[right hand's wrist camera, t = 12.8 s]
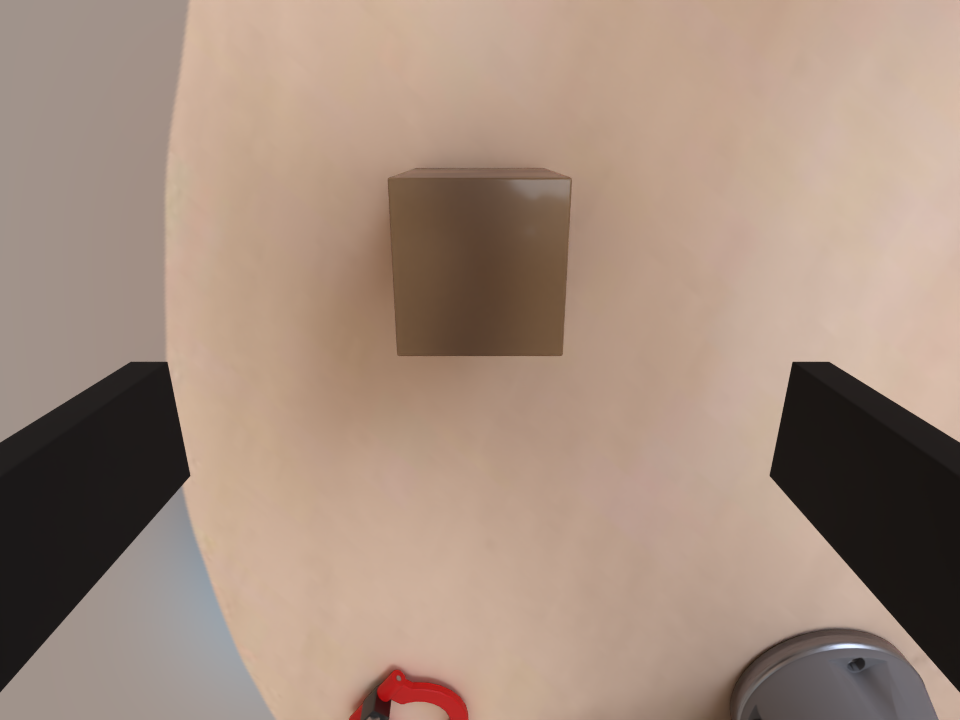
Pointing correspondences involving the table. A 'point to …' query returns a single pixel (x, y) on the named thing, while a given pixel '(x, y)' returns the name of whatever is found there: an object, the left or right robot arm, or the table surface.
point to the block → (479, 261)
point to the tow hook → (408, 698)
